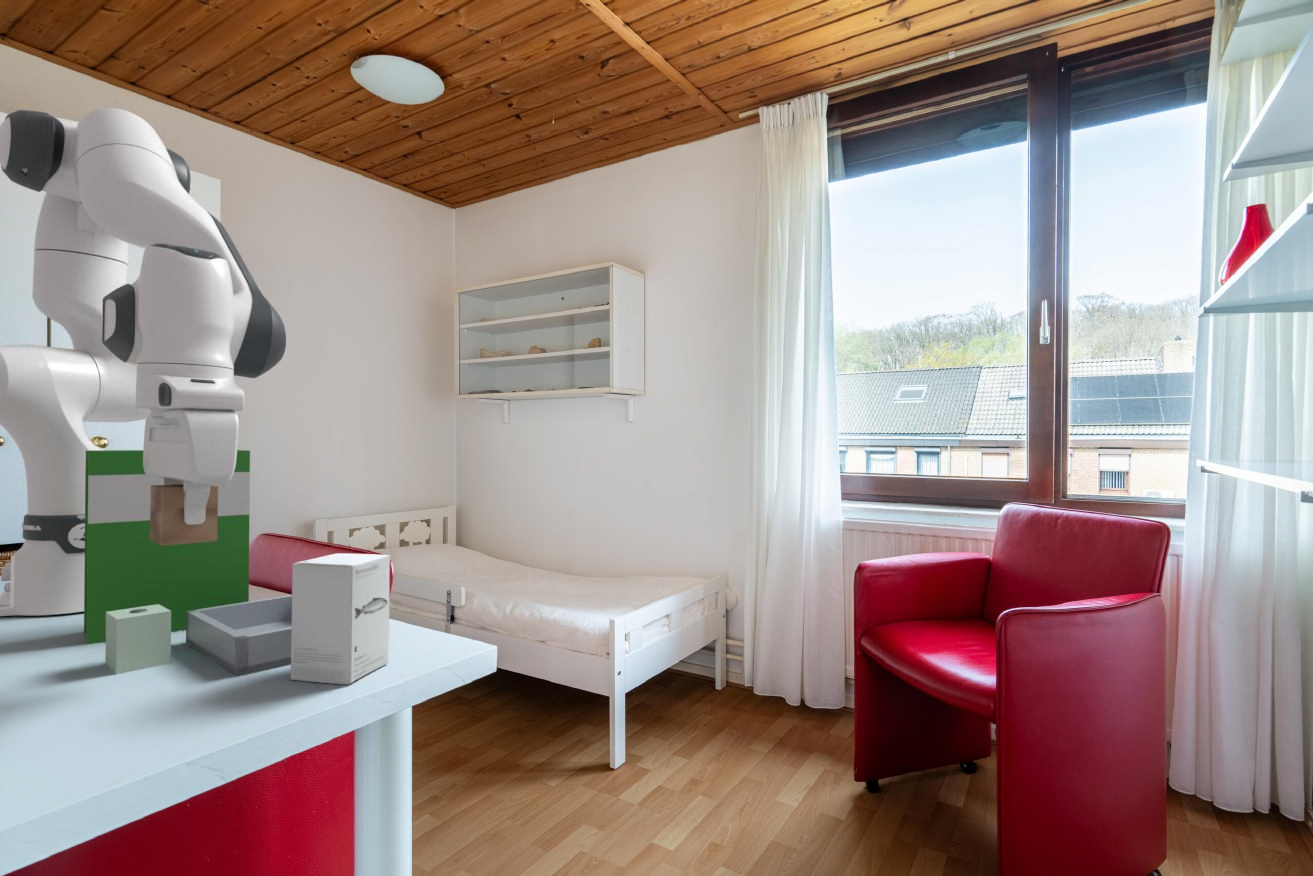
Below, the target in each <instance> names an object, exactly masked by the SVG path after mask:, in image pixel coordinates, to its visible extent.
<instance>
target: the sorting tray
mask: <svg viewBox="0 0 1313 876" xmlns="http://www.w3.org/2000/svg"><path fill="white" fill-rule="evenodd" d="M291 627H292V594H287V595H282V596H275V597H267V598H263V599H255V600H249V601H248V602H242V603H236V604H229V605H223V606H216V607H210V608H204V609H197V610H191V611H186V630H185V644H186V645H187V646H189V647H191V648H193V649H195V650H196V651H198V652H199V653H201V654H203V655H204V656H206V657H207V658H208V659H210V660H212V661H214V662H215V663H216V664H219V665H220V666H221V667H223V668H225V669H226V670H229V672H231V673H233V674H234V675H236V676H239V677H240V676H244V675H248V674H252V673H256V672H260V671H265V670H270V669H275V668H278V667H282V666H287V665H291Z"/></svg>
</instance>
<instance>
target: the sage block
mask: <svg viewBox="0 0 1313 876" xmlns="http://www.w3.org/2000/svg"><path fill="white" fill-rule="evenodd" d="M104 659H105V662H104V663H105V665H106V666H107V667H108V668H109V669H110V670H111V671H112V672H114V674H115V675H119V674H124V673H128V672H135V671H139V670H143V669H144V670H145V669H148V668H149V669H150V668H154V667H159V666H163V665H169V664H171V663H172V662H171V661H172V632H171V611H170V610H168V609H167V608H165V607H163V606H161V605H159V604H156V605H149V606H143V607H136V608H129V609H122V610H115V611H108V612H106V642H105V658H104ZM153 666H154V667H153Z"/></svg>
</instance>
